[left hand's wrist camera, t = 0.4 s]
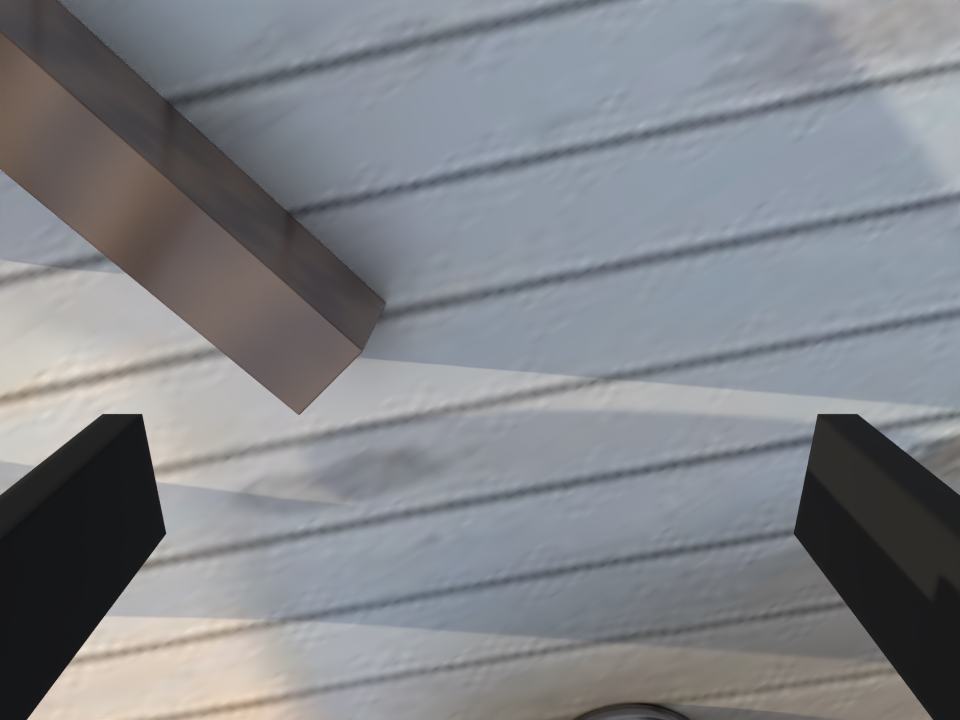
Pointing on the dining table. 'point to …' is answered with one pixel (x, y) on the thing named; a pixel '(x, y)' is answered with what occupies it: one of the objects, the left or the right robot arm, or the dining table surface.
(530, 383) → the dining table surface
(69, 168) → the bar
